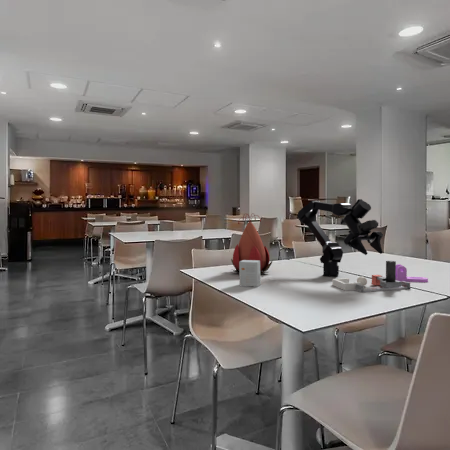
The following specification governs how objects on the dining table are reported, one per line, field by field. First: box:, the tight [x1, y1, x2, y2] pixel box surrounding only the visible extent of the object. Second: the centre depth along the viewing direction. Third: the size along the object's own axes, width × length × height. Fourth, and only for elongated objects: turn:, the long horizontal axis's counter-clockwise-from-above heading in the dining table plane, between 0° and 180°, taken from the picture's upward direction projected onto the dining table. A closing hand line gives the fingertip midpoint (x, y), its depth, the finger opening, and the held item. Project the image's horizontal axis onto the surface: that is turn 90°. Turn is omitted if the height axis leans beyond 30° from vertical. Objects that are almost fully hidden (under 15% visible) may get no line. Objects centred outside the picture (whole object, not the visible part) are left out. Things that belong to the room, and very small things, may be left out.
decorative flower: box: [230, 213, 274, 274], centre depth 188 cm, size 22×23×30 cm
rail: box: [355, 281, 411, 293], centre depth 150 cm, size 22×4×2 cm, turn 102°
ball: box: [356, 276, 368, 287], centre depth 156 cm, size 4×4×4 cm
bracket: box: [396, 263, 429, 283], centre depth 166 cm, size 13×6×7 cm, turn 78°
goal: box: [332, 277, 361, 291], centre depth 155 cm, size 7×10×2 cm
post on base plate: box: [371, 260, 401, 288], centre depth 154 cm, size 7×11×11 cm, turn 12°
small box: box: [238, 260, 262, 288], centre depth 160 cm, size 8×6×10 cm
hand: (374, 253), depth 157 cm, fingers open, 9 cm apart
